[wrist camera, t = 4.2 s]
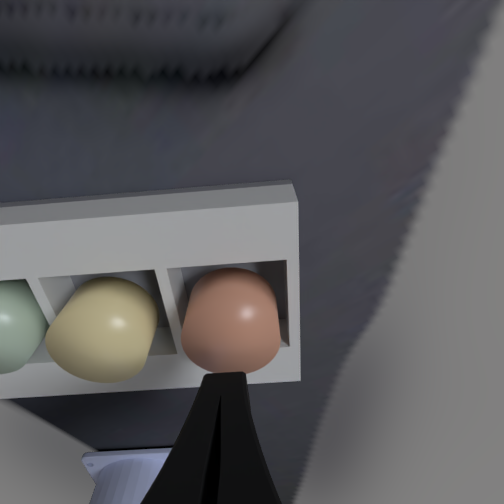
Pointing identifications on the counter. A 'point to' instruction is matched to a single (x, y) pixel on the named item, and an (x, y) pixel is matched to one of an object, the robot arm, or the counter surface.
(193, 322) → the terracotta button
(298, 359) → the console
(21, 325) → the sage button
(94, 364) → the mustard button
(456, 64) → the counter surface
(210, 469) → the robot arm
